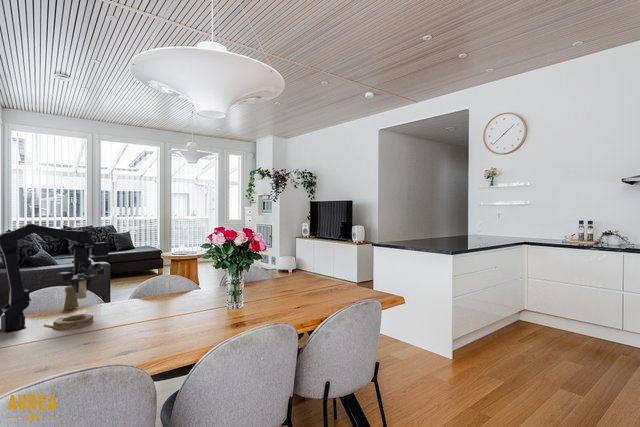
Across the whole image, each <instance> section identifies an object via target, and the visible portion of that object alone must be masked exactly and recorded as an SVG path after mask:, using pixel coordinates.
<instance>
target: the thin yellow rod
mask: <svg viewBox="0 0 640 427" xmlns="http://www.w3.org/2000/svg"><path fill="white" fill-rule="evenodd" d="M43 326H44V327H49V328H53V324H47V323H44V324H43Z"/></svg>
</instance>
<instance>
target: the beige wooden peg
mask: <svg viewBox="0 0 640 427" xmlns="http://www.w3.org/2000/svg"><path fill="white" fill-rule="evenodd" d="M79 279H80V280H79V282H78V289H79V290H78V293H76V294H77V300H82V299H86V298H87V291H86V280H85V278H83V277H81V278H80V277H79Z"/></svg>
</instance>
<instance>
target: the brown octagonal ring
mask: <svg viewBox="0 0 640 427" xmlns="http://www.w3.org/2000/svg"><path fill="white" fill-rule="evenodd" d="M93 322H94V315H93V314H88V313H78V314H69V315H66V316H61V317H58V318H56V319H55V320H54V321H53V323H52V326H53V327H52V329H55V330H59V331H60V330H61V331H65V330H71V329H72V330H73V329H74V330H76V329H80V328H83V327H87V326H90V325H91V324H92V323H93Z"/></svg>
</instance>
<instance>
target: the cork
mask: <svg viewBox="0 0 640 427" xmlns="http://www.w3.org/2000/svg"><path fill="white" fill-rule="evenodd" d="M64 292H65V298H64V299H65V300H64V305H63V310H71V309H70V308H75V309H77V308H76V307H78V308H79V303H78V302H79V301H78V300H79V299H77V293H76V292H75V291H74V289H73V287H72V285H67V286H66V287H65V288H64Z"/></svg>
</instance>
